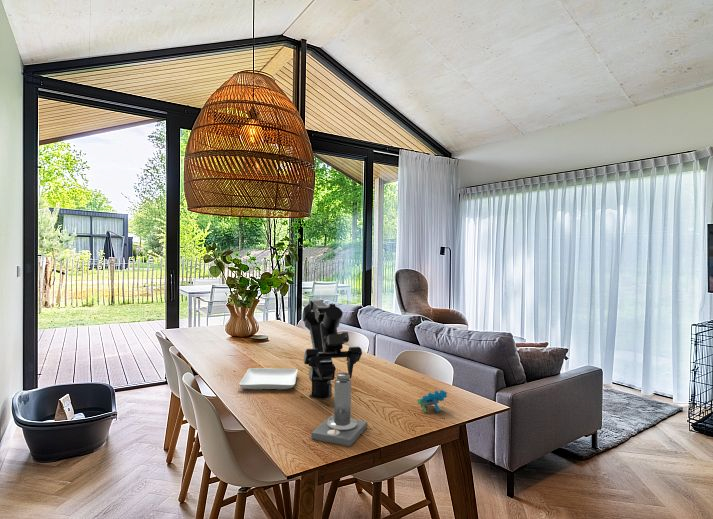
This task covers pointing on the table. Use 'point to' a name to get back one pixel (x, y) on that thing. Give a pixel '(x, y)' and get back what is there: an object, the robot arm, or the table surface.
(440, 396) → the turquoise toy figurine
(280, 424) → the table surface
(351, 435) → the scale
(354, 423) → the scale pan
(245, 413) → the table surface
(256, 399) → the table surface
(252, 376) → the salad plate
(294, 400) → the table surface
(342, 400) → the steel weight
